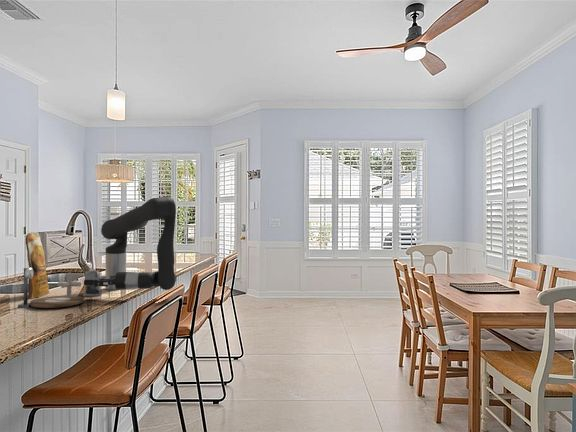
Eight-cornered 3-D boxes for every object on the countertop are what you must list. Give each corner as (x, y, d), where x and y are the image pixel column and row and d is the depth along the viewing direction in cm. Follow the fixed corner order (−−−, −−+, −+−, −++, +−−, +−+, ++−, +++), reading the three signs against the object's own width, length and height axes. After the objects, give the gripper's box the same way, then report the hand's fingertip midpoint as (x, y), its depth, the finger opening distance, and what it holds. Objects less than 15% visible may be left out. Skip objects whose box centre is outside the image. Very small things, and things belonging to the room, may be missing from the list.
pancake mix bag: (19, 299, 189) (19, 233, 189) (37, 291, 208) (38, 231, 208) (36, 299, 190) (36, 233, 190) (53, 291, 209) (53, 231, 209)
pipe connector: (86, 293, 204) (86, 271, 204) (73, 297, 194) (73, 274, 194) (65, 293, 205) (65, 271, 205) (51, 297, 195) (51, 274, 195)
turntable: (41, 300, 187) (41, 295, 187) (89, 299, 190) (89, 295, 190) (21, 310, 168) (21, 305, 168) (75, 309, 171) (75, 304, 171)
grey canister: (86, 294, 193) (86, 268, 193) (103, 293, 194) (103, 268, 194) (80, 297, 186) (81, 270, 186) (99, 296, 187) (99, 270, 187)
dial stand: (22, 305, 177) (22, 267, 177) (33, 305, 178) (33, 267, 178) (17, 307, 173) (17, 268, 173) (28, 307, 174) (28, 268, 173)
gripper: (131, 269, 199) (90, 270, 196) (124, 274, 185) (81, 274, 182) (131, 286, 199) (90, 287, 197) (124, 292, 185) (81, 293, 182)
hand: (86, 281), depth 189 cm, fingers closed on grey canister, 5 cm apart
